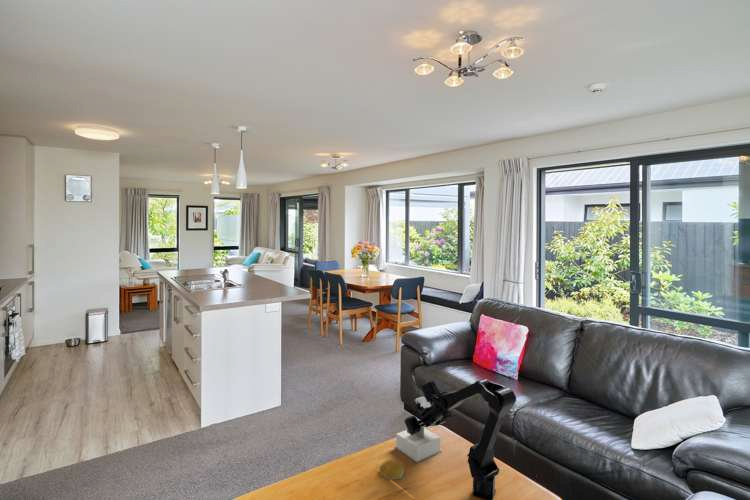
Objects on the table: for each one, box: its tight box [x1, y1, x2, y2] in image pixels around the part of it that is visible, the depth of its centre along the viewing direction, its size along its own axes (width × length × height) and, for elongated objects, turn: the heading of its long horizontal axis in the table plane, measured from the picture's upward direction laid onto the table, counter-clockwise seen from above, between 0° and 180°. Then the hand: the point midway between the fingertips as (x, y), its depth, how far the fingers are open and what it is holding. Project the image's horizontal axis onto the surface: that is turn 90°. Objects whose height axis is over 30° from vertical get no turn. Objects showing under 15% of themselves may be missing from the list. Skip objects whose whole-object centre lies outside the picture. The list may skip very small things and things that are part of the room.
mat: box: [394, 446, 443, 464], centre depth 165 cm, size 14×14×1 cm
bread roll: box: [379, 459, 405, 481], centre depth 150 cm, size 8×9×4 cm
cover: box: [395, 424, 441, 463], centre depth 165 cm, size 13×13×11 cm
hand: (415, 428), depth 166 cm, fingers open, 9 cm apart
